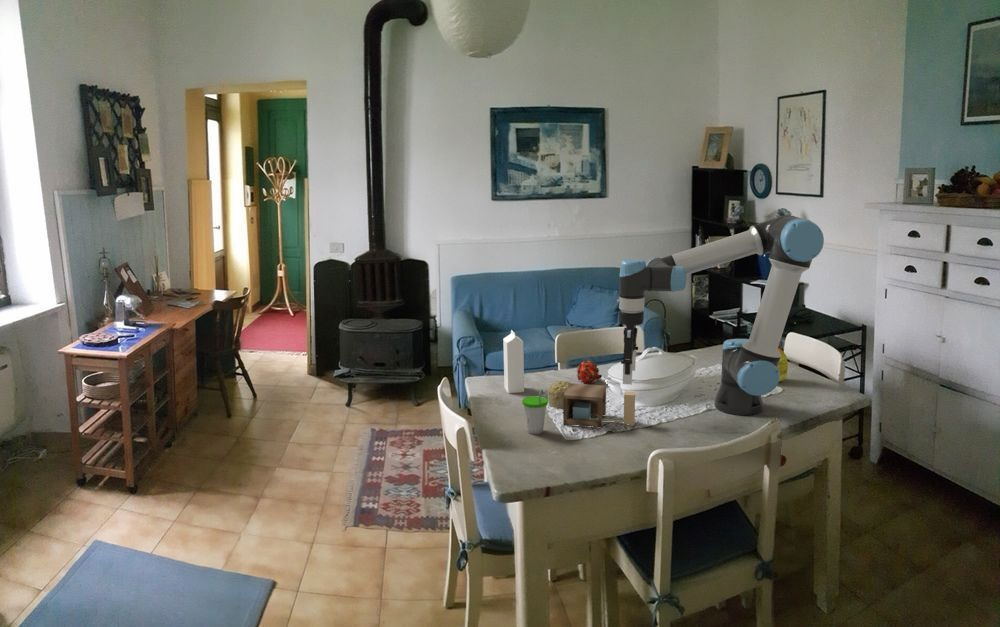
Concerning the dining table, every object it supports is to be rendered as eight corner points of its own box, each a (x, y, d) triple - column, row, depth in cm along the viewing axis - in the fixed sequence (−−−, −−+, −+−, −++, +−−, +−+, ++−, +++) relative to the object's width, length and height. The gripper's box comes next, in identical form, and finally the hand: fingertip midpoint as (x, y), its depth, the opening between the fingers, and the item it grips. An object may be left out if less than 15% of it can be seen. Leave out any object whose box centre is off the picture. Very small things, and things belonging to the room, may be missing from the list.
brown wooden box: (605, 414, 227) (606, 385, 225) (601, 428, 216) (601, 397, 214) (569, 412, 230) (569, 383, 228) (563, 425, 219) (563, 395, 217)
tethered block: (634, 420, 222) (635, 390, 219) (633, 426, 217) (634, 396, 215) (575, 416, 226) (575, 387, 224) (572, 421, 222) (572, 392, 219)
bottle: (760, 385, 250) (764, 332, 246) (751, 380, 256) (754, 327, 252) (790, 382, 253) (794, 329, 248) (779, 377, 259) (783, 325, 254)
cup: (522, 427, 219) (521, 381, 215) (547, 426, 218) (547, 381, 215) (522, 437, 211) (521, 390, 208) (548, 436, 211) (548, 389, 207)
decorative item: (562, 419, 234) (580, 397, 231) (539, 401, 234) (557, 379, 231) (565, 409, 243) (582, 388, 240) (543, 392, 243) (560, 371, 240)
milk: (520, 386, 256) (519, 328, 251) (524, 392, 250) (523, 332, 245) (504, 388, 254) (503, 330, 249) (507, 393, 249) (506, 334, 244)
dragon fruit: (585, 380, 266) (593, 394, 255) (568, 369, 263) (575, 384, 252) (599, 363, 264) (607, 377, 253) (582, 352, 261) (590, 366, 250)
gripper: (622, 301, 224) (620, 364, 229) (614, 319, 200) (612, 389, 205) (646, 302, 222) (643, 365, 227) (641, 320, 198) (638, 391, 203)
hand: (629, 377), depth 216 cm, fingers open, 13 cm apart
